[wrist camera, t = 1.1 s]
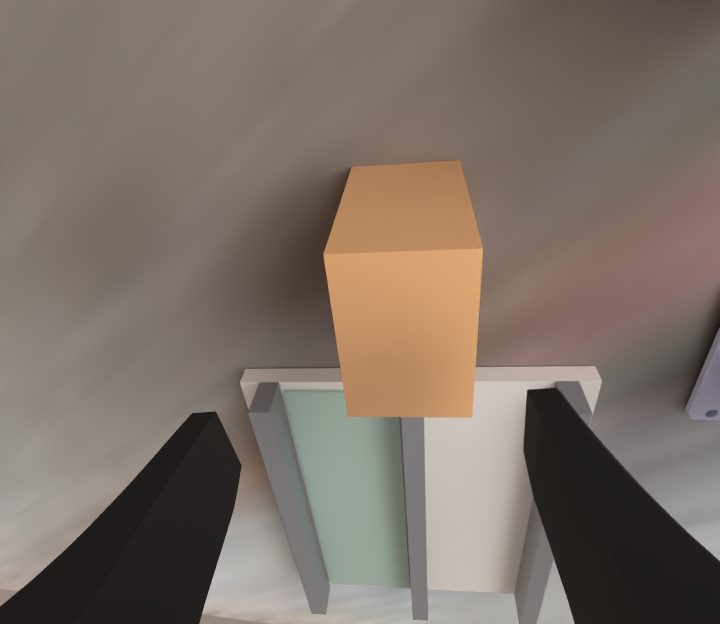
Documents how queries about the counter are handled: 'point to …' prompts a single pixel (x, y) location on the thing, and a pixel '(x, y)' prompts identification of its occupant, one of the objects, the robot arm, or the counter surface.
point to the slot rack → (409, 485)
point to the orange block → (406, 290)
